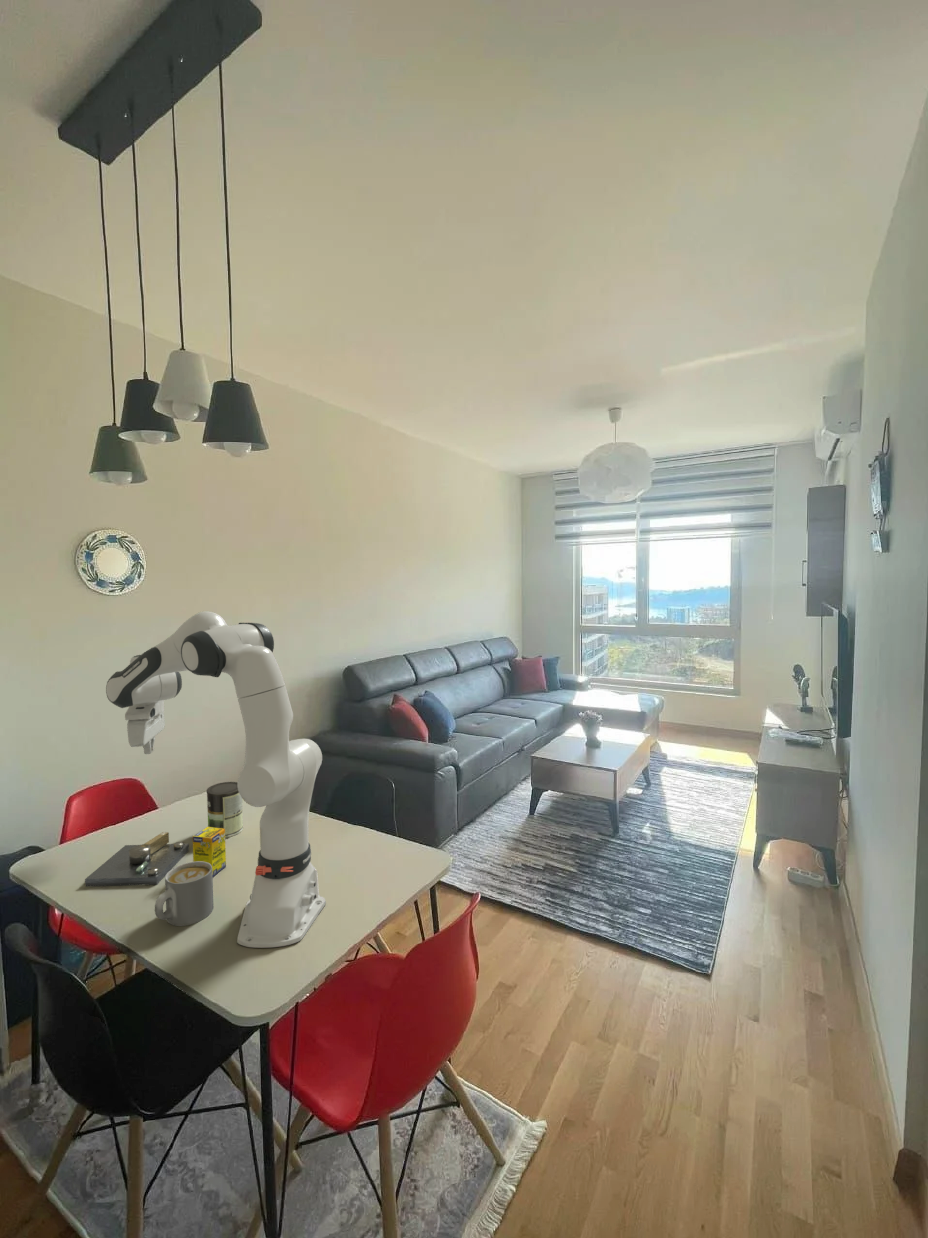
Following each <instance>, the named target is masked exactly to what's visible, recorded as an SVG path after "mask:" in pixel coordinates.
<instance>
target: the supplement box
mask: <svg viewBox="0 0 928 1238" xmlns="http://www.w3.org/2000/svg"><path fill="white" fill-rule="evenodd" d="M226 849H227V848H226V838H225V829H222V828H213V827H208V826H207V827H205V828H204V829H202V830H200V831H199V832H197V833H196V834H194V835H192V862H196V861H203V862H207V863H210V864H211V865H212V875H213V878H214V877H215V876H216V875H217V874H218V873H220V872H221V871H222V870H224V869H225V868H226V867H227V861H226V860H227V858H226V857H227V855H226V853H227V852H226Z"/></svg>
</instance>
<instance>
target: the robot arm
mask: <svg viewBox="0 0 928 1238" xmlns="http://www.w3.org/2000/svg"><path fill="white" fill-rule="evenodd" d="M274 647H275V639H274V637H273V634H272V632H271V631H270V629H269V628H268V627H267V626H266V625H264V624H263V623H257V622H238V624H232V625H231V624H230V625H228V624H227V622H226V621H225V619H224V618H223V617H222V616H221V615H220V614H218V613H216V612H213V611H208V610H205V611H204V610H203V611H200V612H198V613H196V614H194V615H192V616H191V617H189V618H188V619H186V620H185V621H184V622H183V623H182V624H181V625H180V626H179V627H178V628H177V629H176V631H174V632H173V633H172V634H171V635H170V636H169V637H167V638H165V639H164V640H163V641H160V643H158V644H156V645H155V646H153V647H151V648H149V649H147V650H146V651H144V652H143V653H141V654H137V655H133V656H132V657H131V658H130V660H129V664H128V665H127V666H126V667H125V668H124V669H122V670H121V671H116V672H114V673H113V674H112V675H111V676H110V677H109V679H108V680H107V681H106V687H105V693H106V698H107V699H108V701H109V702H110V703H112V704H113V705H114V706H116V707H119V708H120V709H124V708H127V710H126V712H125V713H124V720H125V721H127V725H126V726H127V727H126V728H127V729H126V731H127V738H128V744H129V746H130V747H132V748H138V747H143V754H144V755H150V754H152V753H153V752H154V751H155V750H154V749H155V748H154V747H155V742H156V736H157V735H158V734H160V733H161V732H162V731H164V729H165V727H166V719H165V701H167V700H170V699H172V698H173V699H174V698H175V697H176V696H178V695H179V693H180V692H181V690H182V687H183V681H182V680H183V679H182V675H181V673H180V672H187V671H189V672H190V673H192V674H194V675H196V676H206V677H212V678H219V677H220V676H221V674H222V673H225V674H227V675H229V676H230V677H231V679H232V681H233V685H234V689H235V693H236V698H237V702H238V706H239V708H240V714H241V717H242V722H243V725H244V732H245V733H244V734H245V752H244V761H243V765H242V769H241V771H240V773H239V775H238V778H237V782H238V783H237V785H238V791H239V794H240V796H241V797H242V801H244V802H245V803H246V804H247V805H250V806H252V807H255V808H263V807H265V808H264V810H263V812H262V814H261V817H260V820H259V844H260V845H259V848H260V849H259V851H258V858H257V866H256V867H255V872H254V873H255V874H254V875H255V876H254V881H253V886H252V891H251V893H250V895H249V900H247V902H246V904H245V907H244V911H243V915H242V918H241V922H240V926H239V930H238V934H237V938H236V939H237V941H236V942H237V944H239V945H241V946H243V947H247V948H256V949H257V948H259V949H260V948H262V949H263V948H278V947H286V946H289V945H293V944H296V943H299V942H301V940H302V939H303V938H304V937H305V935H306V934H307V932H308V931H309V929H310V928H311V926H312V925H313V924H314V922H315V921H316V919H317V917H318V916H319V914H320V913H321V912H322V910H323V908H324V907H325V905H326V903H327V902H326V898H325V897H324V896H322V895H320V892H319V891H320V890H319V877H318V875H319V874H318V870H317V869H316V867H315V865H313V864H312V862H311V860H312V856H311V855H312V848H311V844H310V843H309V842H310V841H309V817H310V816H309V815H310V814H309V813H310V808H311V807H310V806H311V801H312V796H313V792H314V788H315V782H316V778H317V776H318V775H317V774H318V772H319V770H320V767H321V766H322V761H323V754H322V753H323V752H322V750H321V748H320V747H319V745H318V744H317V742H315V741H313V740H312V739H311V738H297V739H291V740H290V729H291V727H292V726H291V725H292V723H293V720H294V712H293V708H292V705H291V701H290V698H289V694H288V690H287V686H286V683H285V678H284V675H283V673H282V671H281V668H280V665H279V664H278V660H277V659H276V657H275V655H274V653H273V652H274V649H275V648H274Z"/></svg>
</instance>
